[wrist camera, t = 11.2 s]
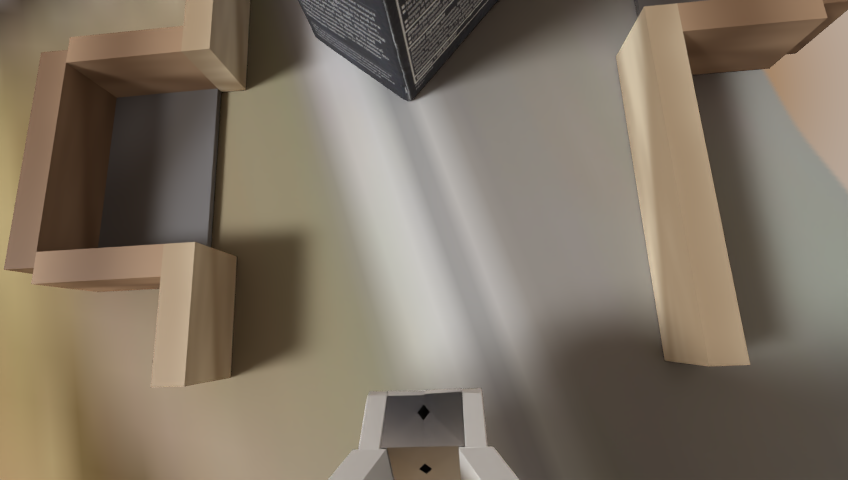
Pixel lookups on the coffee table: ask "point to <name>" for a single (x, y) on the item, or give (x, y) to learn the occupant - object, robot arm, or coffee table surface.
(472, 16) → the small box
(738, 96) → the coffee table surface
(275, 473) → the coffee table surface
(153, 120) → the trap lane
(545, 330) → the coffee table surface
